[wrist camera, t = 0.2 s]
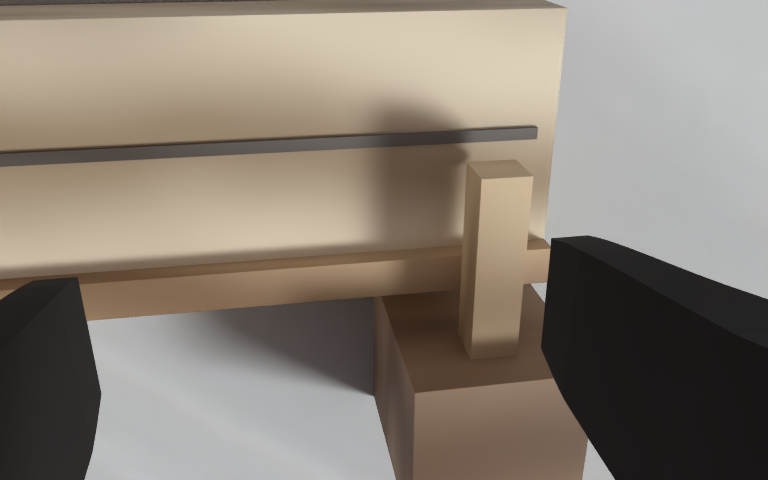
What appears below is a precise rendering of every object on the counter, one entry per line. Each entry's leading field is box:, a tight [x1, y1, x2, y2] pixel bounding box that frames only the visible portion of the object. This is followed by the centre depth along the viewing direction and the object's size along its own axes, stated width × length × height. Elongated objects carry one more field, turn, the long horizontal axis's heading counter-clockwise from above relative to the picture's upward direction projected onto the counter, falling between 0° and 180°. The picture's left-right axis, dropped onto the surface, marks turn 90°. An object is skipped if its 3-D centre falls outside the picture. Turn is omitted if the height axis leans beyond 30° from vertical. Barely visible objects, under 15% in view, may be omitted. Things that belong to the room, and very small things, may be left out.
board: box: [0, 0, 568, 321], centre depth 18 cm, size 7×22×3 cm, turn 90°
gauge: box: [374, 159, 588, 480], centre depth 20 cm, size 9×4×6 cm, turn 0°
